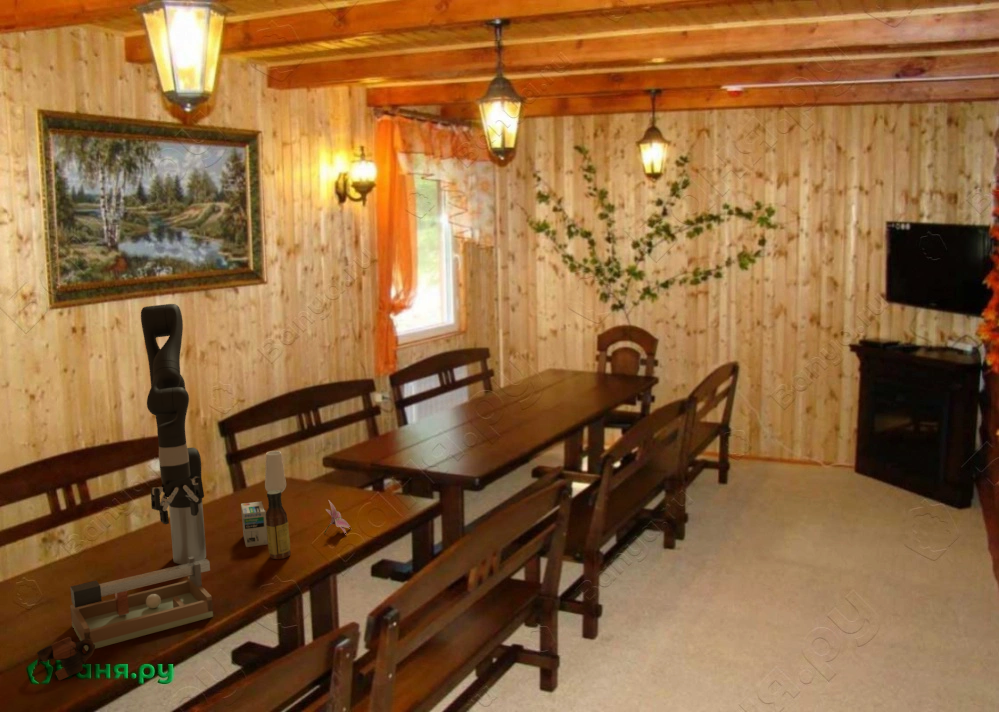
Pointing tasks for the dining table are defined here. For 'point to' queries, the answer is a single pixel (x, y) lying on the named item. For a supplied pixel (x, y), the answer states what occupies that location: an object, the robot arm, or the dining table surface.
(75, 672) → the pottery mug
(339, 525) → the lily
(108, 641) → the wooden tray
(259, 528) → the light bulb box
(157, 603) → the ball
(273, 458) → the champagne flute
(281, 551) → the sauce bottle
